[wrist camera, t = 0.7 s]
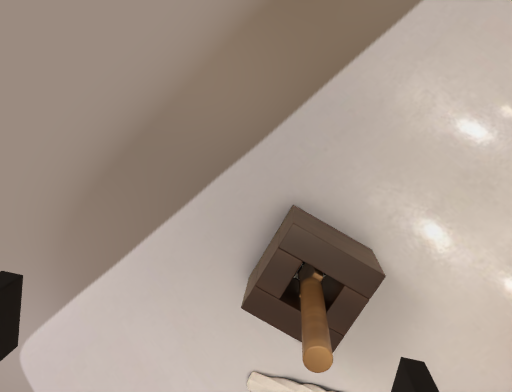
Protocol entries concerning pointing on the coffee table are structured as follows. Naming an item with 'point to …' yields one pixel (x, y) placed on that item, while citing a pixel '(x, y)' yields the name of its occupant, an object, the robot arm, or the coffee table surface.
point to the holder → (322, 258)
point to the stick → (314, 321)
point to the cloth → (279, 385)
